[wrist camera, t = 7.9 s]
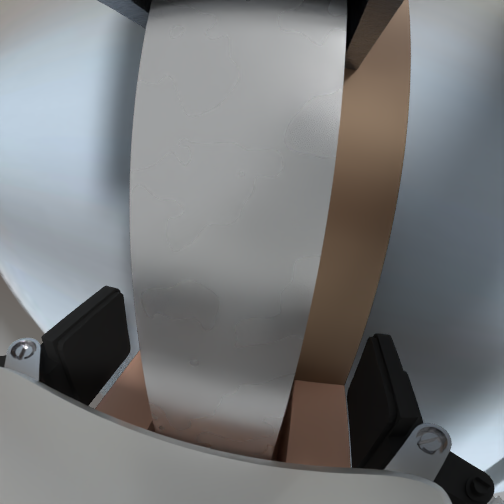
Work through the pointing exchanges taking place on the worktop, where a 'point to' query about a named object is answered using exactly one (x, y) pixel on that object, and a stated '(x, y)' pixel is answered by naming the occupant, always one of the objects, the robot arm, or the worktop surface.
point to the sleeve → (357, 29)
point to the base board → (359, 204)
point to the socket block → (293, 427)
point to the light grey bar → (231, 207)
